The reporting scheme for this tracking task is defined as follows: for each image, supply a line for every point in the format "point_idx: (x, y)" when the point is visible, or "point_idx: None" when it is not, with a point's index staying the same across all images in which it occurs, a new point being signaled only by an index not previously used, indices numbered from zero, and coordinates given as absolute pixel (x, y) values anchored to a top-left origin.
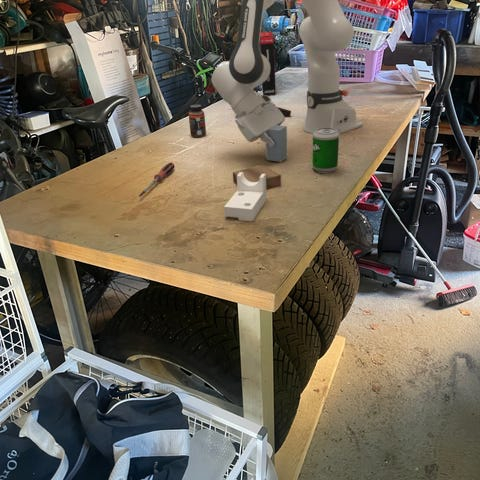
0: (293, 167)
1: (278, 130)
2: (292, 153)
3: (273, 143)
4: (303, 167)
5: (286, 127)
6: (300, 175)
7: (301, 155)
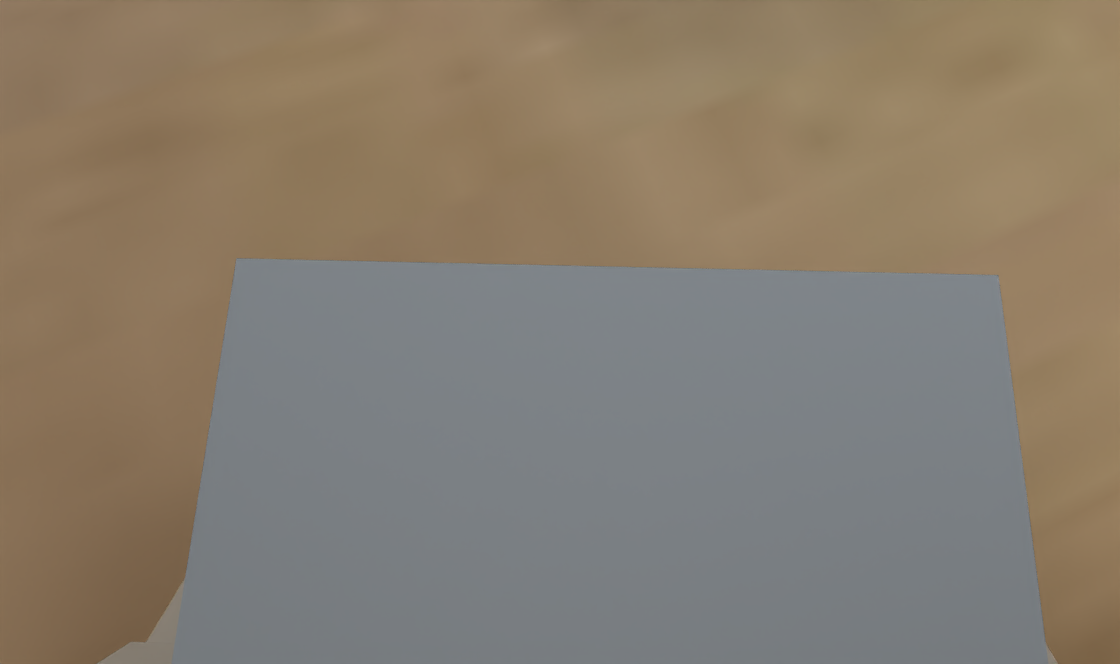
0: (809, 223)
1: (1001, 336)
2: (171, 515)
3: None
4: (743, 96)
5: (281, 275)
6: (1046, 19)
7: None
